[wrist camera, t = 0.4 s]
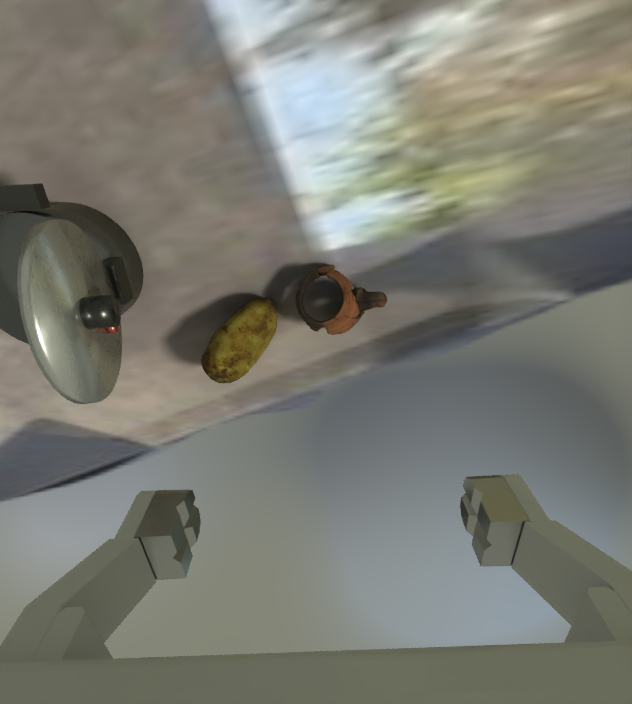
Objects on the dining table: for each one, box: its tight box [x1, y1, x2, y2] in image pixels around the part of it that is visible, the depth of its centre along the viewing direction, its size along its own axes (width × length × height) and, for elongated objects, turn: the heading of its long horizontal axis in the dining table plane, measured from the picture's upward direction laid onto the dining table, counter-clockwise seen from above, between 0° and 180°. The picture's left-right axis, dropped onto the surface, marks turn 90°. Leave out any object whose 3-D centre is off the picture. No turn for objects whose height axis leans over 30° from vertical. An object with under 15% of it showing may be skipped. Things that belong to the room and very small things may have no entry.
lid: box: [17, 219, 122, 404], centre depth 36 cm, size 17×17×3 cm
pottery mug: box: [296, 265, 387, 335], centre depth 52 cm, size 12×10×8 cm
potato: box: [201, 298, 277, 383], centre depth 54 cm, size 8×13×8 cm, turn 121°
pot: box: [0, 184, 143, 344], centre depth 48 cm, size 21×17×10 cm
